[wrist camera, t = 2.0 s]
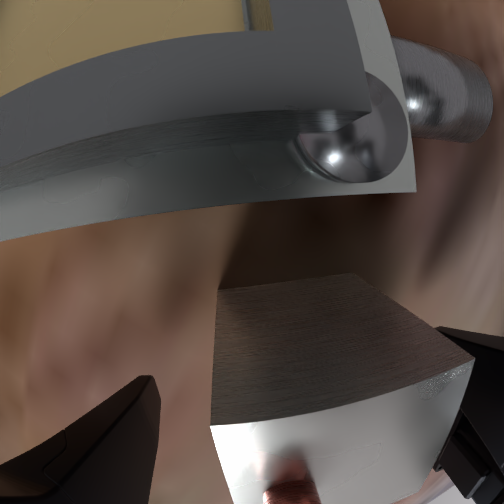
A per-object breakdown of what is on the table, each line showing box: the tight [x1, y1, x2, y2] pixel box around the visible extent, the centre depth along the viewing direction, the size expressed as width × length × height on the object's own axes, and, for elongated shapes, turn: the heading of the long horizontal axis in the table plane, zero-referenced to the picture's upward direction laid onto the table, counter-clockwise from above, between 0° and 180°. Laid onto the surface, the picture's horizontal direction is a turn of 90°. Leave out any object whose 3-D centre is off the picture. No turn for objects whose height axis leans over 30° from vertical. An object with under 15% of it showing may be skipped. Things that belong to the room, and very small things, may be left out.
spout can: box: [210, 273, 475, 504], centre depth 6 cm, size 4×4×7 cm
